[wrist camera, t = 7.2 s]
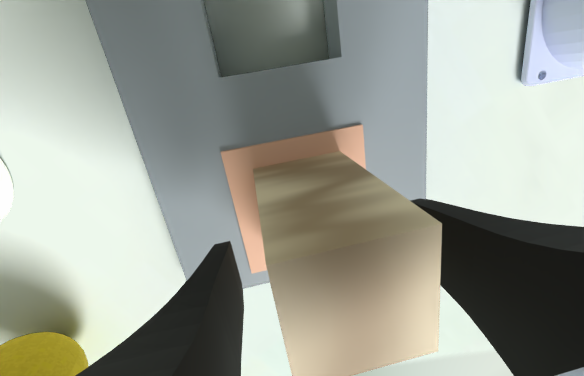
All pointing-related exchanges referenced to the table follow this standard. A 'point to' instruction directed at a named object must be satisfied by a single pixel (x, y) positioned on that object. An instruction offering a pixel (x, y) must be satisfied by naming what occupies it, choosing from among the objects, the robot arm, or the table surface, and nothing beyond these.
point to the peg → (348, 266)
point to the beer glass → (5, 191)
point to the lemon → (42, 356)
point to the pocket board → (263, 112)
